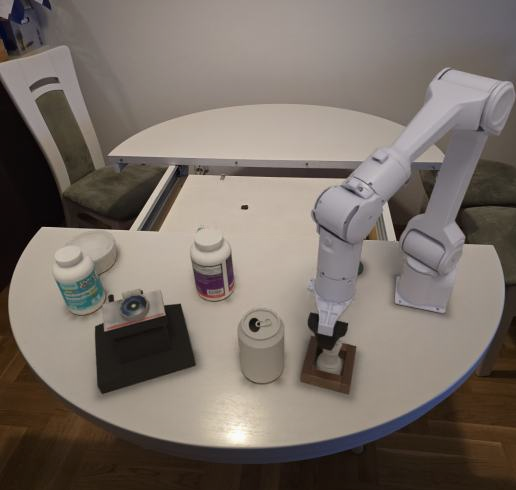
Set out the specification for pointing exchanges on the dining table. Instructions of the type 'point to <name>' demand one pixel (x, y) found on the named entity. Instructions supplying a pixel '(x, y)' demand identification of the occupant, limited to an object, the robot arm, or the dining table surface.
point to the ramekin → (97, 248)
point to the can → (261, 345)
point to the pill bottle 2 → (212, 264)
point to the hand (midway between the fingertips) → (329, 328)
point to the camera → (140, 340)
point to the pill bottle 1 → (78, 280)
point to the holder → (327, 378)
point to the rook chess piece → (330, 360)
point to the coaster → (360, 268)
